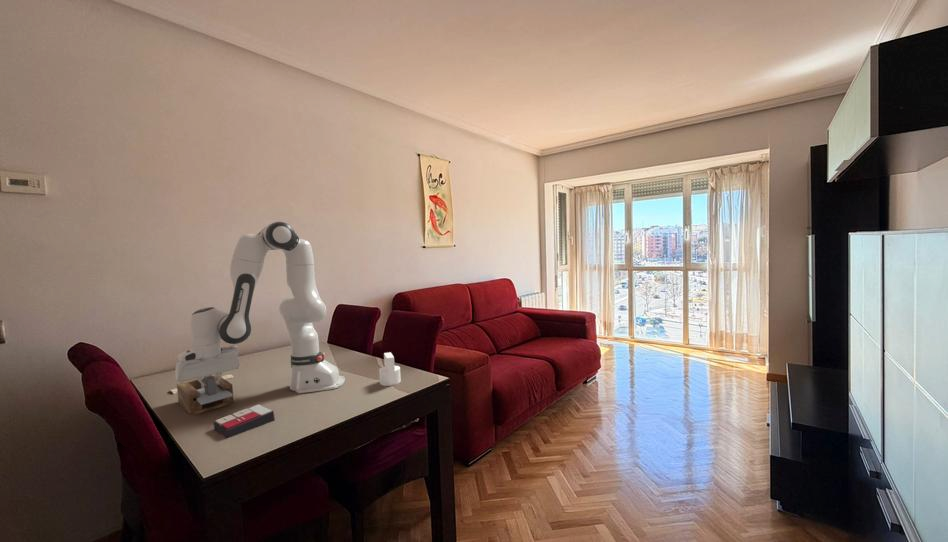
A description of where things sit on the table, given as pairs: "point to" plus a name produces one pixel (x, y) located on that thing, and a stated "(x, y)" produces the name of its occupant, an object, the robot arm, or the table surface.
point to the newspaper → (221, 376)
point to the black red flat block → (243, 420)
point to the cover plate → (212, 397)
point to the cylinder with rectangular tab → (389, 371)
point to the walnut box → (189, 392)
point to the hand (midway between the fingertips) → (210, 386)
